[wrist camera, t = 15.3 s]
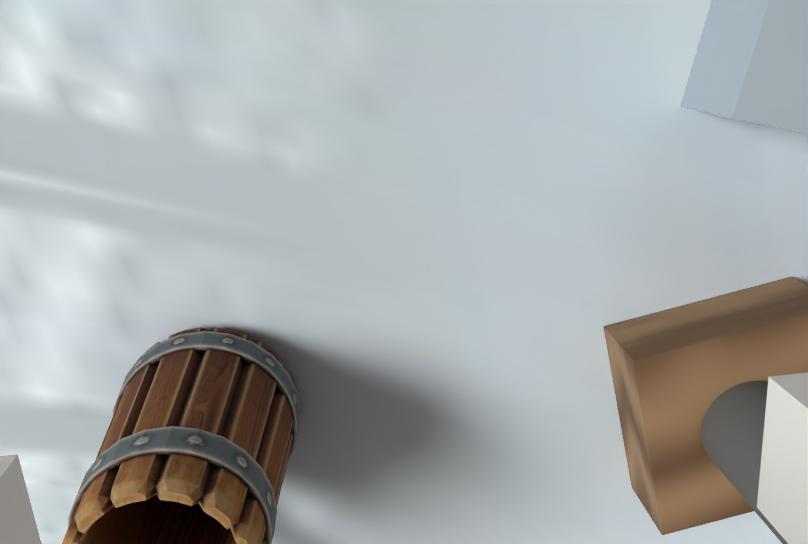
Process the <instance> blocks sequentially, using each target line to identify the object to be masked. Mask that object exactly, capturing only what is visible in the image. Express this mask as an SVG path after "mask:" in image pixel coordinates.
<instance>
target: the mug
mask: <svg viewBox="0 0 808 544" xmlns="http://www.w3.org/2000/svg"><path fill="white" fill-rule="evenodd" d="M282 363H283V361H282V360H281V359H280V358H279V357H278V356H277V355H276V354H275V353H274V352H273V351H272V350H271V349H269V348H268V347H267V346H265V345H264V344H262V343H261V342H259V341H250V339H249V337H248V336H247V335H245V334H242V333H239V332H236V331H233V330H228V329H221V328H214V329H213V330H211V331H208V330H205V329H203V328H196V329H190V330H185V331H182V332H179V333H176V334H173V335H170V337H169V339H168V340H165V341H163V342H157V343H156V344H155V345H154V346H153V347H151V348H150V349H149V350H148V351H146V352H145V353H144V354H143V355H142V356H141V357H140V358H139V359H138V361H137V362H136V363H135V364H134V366H133V367H132V368H131V370H130V371H129V372H128V374H127V376H126V378H125V380H124V383H123V385H122V388H121V390H120V393H119V396H118V398H117V401H116V404H115V406H114V409H113V418H112V421H111V423H110V426H109V428H108V431H107V433H106V436H105V438H104V441H103V443H102V446H101V448H100V450H99V453H98V455H97V458H96V460H95V462H94V463H93V465H92V466H91V467H90V468H89V470H88V471H87V472H86V475H85V477H84V479H83V482H82V484H81V487H80V489H79V492H78V494H77V496H76V499H75V502H74V504H73V507H72V510H71V512H70V515H69V526H68V530H67V533H66V535H65V538H64V540H63V543H62V544H271V543H272V539H273V534H274V529H275V521H276V513H277V508H276V507H277V503H278V499H279V495H280V490H281V486H282V482H283V478H284V474H285V470H286V466H287V463H288V460H289V458H290V456H291V454H292V451H293V449H294V447H295V442H296V438H297V434H298V428H299V420H300V413H301V412H300V406H299V399H298V394H297V389H296V385H295V383H294V381H293V378H292V376H291V374H290V372H288V371H286V370H285V369H284V368H283V366H282Z"/></svg>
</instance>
